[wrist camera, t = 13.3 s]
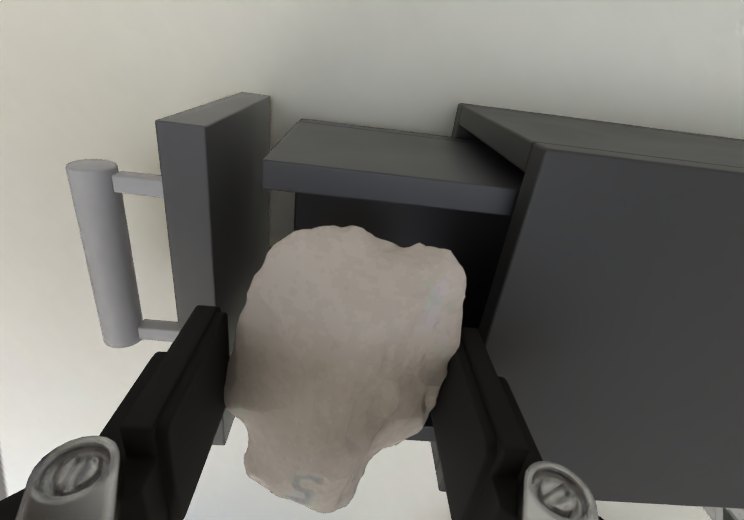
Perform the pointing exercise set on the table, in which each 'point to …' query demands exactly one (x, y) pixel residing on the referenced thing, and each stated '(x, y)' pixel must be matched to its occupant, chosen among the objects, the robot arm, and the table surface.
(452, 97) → the table surface
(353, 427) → the decorative stone
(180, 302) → the drawer
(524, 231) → the grey storage cabinet
